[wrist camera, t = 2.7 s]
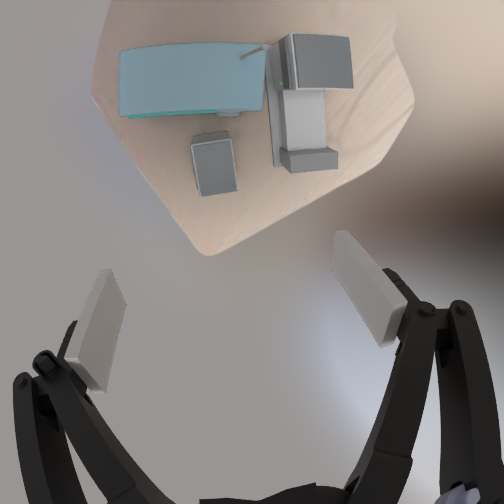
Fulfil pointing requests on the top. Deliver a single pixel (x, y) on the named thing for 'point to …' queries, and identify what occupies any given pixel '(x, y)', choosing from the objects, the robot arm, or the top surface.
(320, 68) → the block
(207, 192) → the block
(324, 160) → the block
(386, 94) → the top surface
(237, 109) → the radio
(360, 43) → the top surface
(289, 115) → the rail panel
